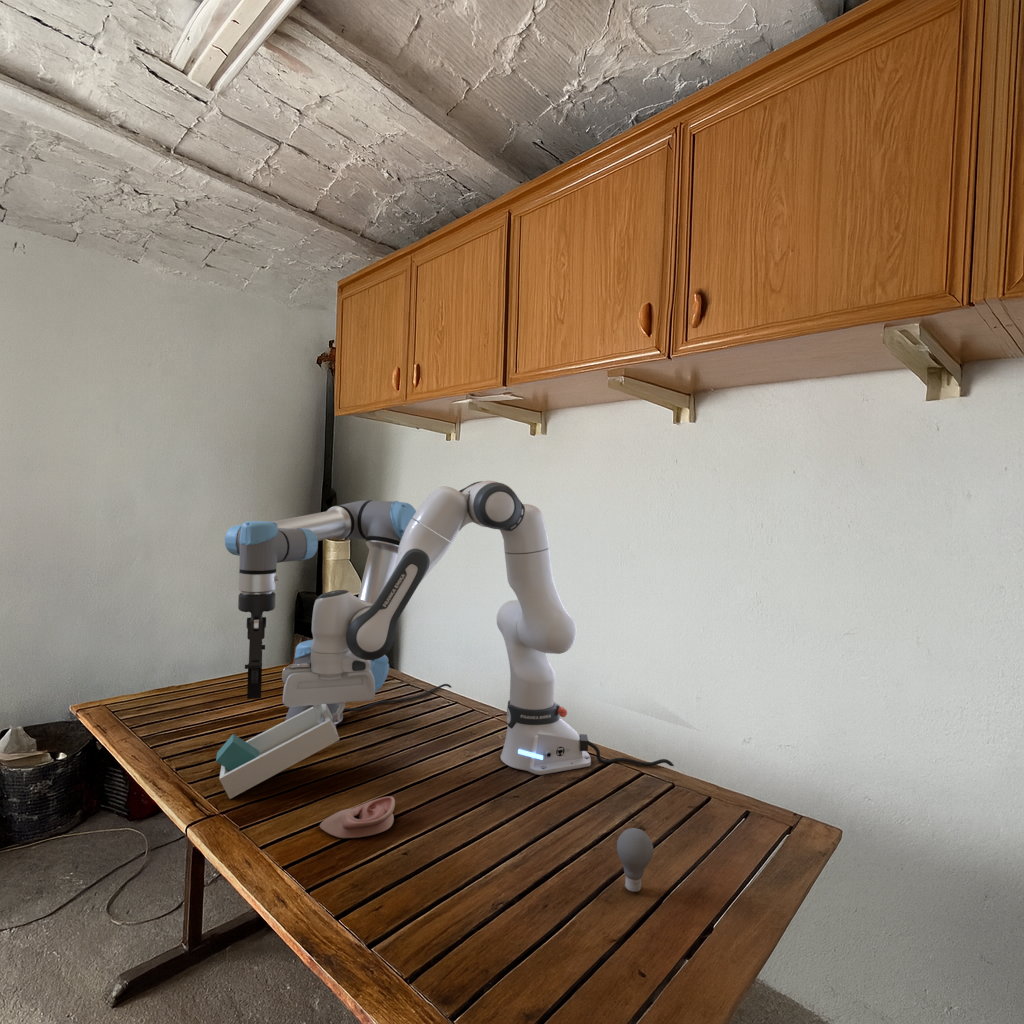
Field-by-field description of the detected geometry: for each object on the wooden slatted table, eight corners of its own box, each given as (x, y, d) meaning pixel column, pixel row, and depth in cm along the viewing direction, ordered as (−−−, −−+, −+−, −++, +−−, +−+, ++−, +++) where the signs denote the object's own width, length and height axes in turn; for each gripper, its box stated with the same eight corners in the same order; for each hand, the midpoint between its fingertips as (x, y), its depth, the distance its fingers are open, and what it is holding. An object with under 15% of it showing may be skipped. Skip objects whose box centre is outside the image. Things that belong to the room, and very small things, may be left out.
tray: (229, 799, 131) (219, 778, 130) (232, 771, 144) (223, 752, 143) (339, 739, 139) (330, 720, 138) (333, 718, 152) (324, 700, 151)
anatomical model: (312, 812, 119) (340, 786, 130) (311, 833, 119) (340, 805, 130) (378, 823, 116) (401, 795, 127) (377, 844, 116) (401, 814, 127)
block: (243, 769, 140) (216, 752, 138) (259, 750, 141) (233, 733, 139) (243, 779, 136) (215, 761, 133) (259, 759, 137) (232, 741, 135)
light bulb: (610, 878, 109) (613, 821, 108) (645, 878, 109) (647, 821, 109) (619, 901, 103) (622, 840, 103) (655, 900, 103) (658, 839, 103)
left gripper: (276, 601, 128) (273, 705, 128) (274, 583, 151) (272, 671, 152) (236, 602, 125) (233, 708, 126) (240, 583, 148) (238, 673, 149)
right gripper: (282, 668, 137) (280, 731, 138) (377, 662, 145) (375, 722, 145) (281, 660, 143) (279, 721, 144) (373, 656, 151) (371, 713, 151)
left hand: (254, 688), depth 139 cm, fingers open, 13 cm apart
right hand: (328, 722), depth 144 cm, fingers closed on tray
